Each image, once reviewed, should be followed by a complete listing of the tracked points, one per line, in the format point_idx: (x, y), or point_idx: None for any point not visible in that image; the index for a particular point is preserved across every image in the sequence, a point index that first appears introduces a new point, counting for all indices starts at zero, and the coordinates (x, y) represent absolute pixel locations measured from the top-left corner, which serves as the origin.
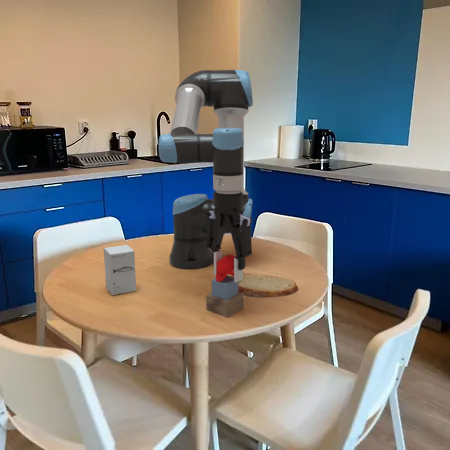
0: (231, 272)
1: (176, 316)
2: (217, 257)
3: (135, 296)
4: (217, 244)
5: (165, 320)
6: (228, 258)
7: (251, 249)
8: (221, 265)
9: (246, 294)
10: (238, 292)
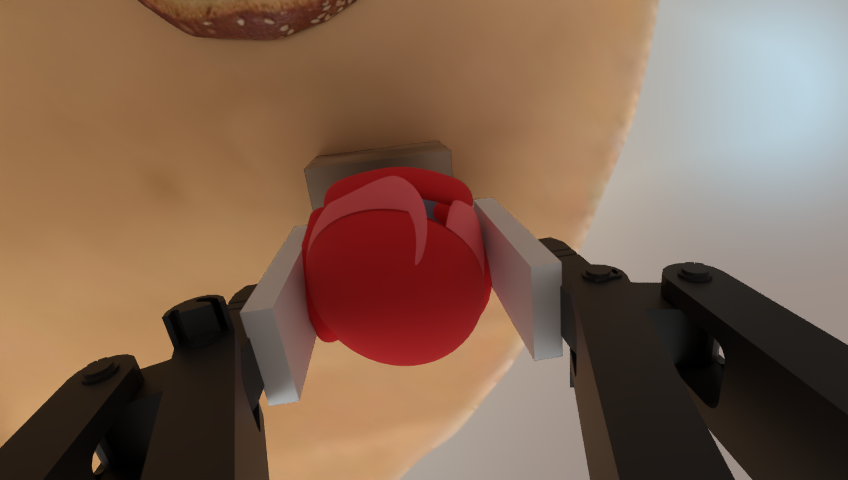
0: (483, 307)
1: (312, 378)
2: (303, 348)
3: (28, 407)
4: (256, 439)
5: (315, 418)
6: (425, 325)
7: (756, 297)
8: (414, 364)
9: (338, 10)
10: (416, 155)
